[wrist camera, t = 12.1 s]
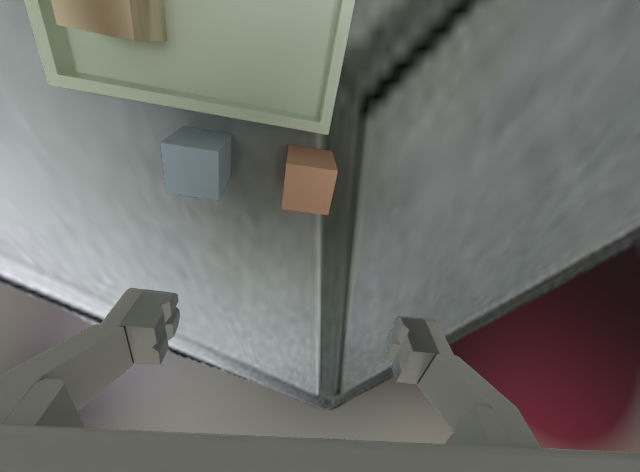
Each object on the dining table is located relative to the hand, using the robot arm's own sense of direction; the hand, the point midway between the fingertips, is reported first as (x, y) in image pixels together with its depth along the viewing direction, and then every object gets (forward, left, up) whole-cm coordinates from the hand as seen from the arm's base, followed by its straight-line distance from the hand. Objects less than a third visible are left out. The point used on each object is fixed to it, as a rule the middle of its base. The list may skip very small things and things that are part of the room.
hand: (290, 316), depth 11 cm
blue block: (-8, -1, -19) cm, 21 cm away
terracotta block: (+1, -1, -19) cm, 19 cm away
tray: (-8, +9, -19) cm, 22 cm away
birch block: (-12, +9, -18) cm, 24 cm away
